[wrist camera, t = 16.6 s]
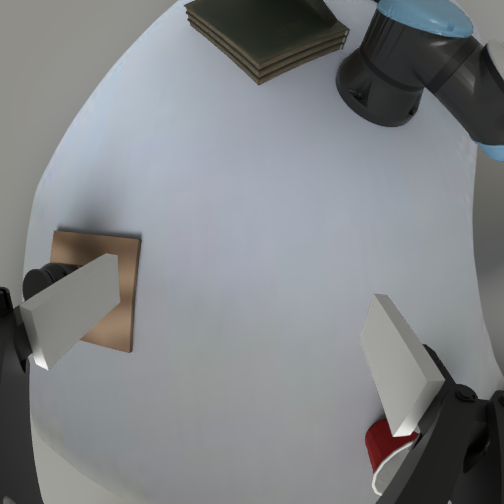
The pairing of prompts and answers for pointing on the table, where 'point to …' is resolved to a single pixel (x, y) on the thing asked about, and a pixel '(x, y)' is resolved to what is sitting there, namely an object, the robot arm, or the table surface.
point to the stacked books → (268, 32)
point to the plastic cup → (386, 453)
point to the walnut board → (128, 250)
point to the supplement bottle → (46, 277)
